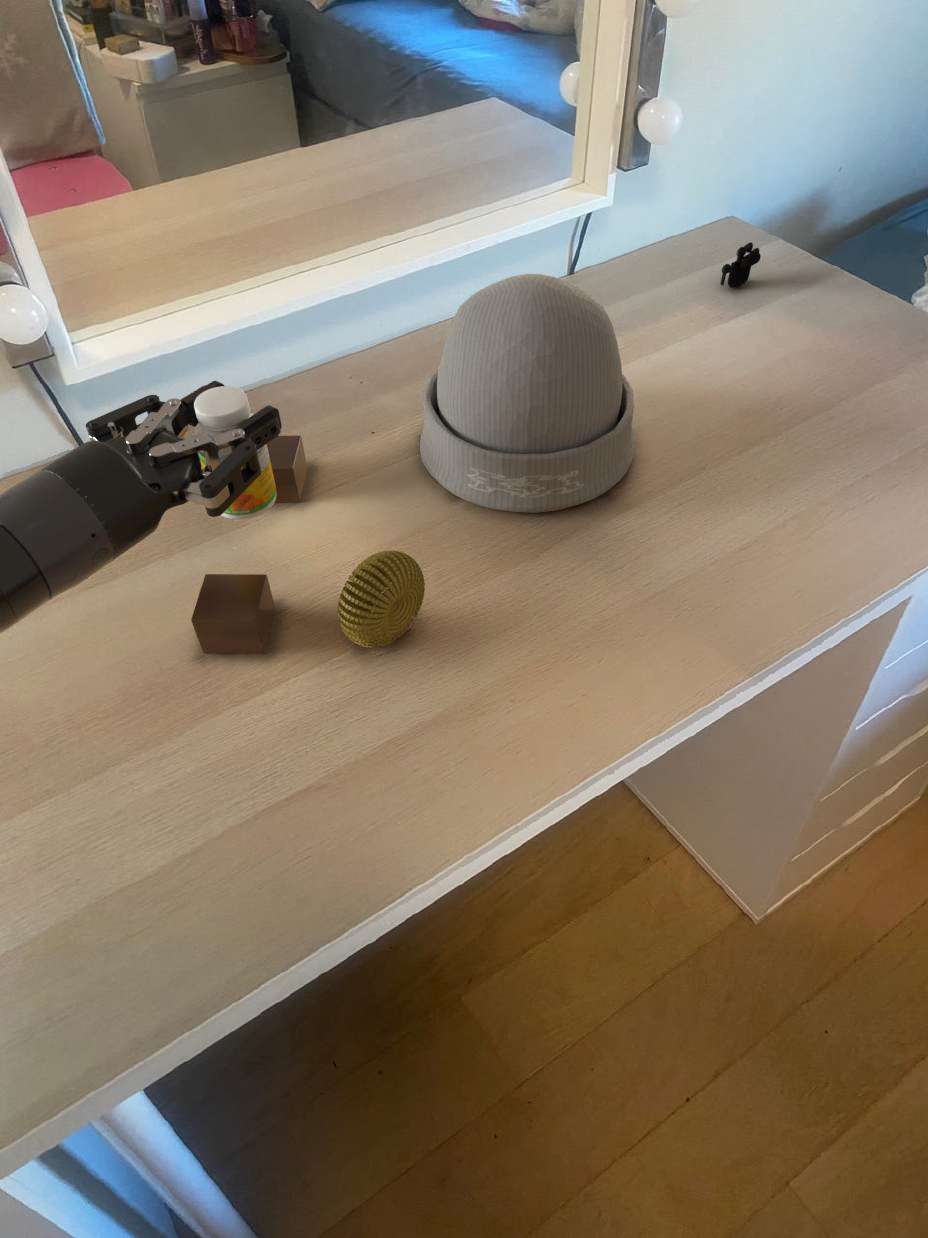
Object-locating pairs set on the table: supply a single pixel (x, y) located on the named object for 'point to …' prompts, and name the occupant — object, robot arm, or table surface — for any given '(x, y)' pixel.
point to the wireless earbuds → (741, 266)
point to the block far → (288, 467)
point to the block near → (234, 613)
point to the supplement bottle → (220, 415)
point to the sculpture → (381, 599)
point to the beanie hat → (529, 399)
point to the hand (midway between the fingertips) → (248, 404)
